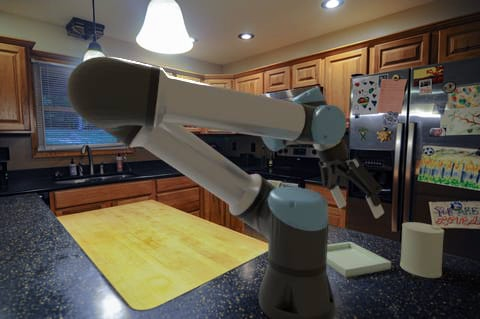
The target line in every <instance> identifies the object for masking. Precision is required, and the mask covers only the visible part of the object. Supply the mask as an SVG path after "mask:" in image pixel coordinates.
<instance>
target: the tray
mask: <svg viewBox="0 0 480 319" xmlns="http://www.w3.org/2000/svg"><path fill="white" fill-rule="evenodd" d="M326 266H328V267H329V268H331V269H333V270H334V271H335V273H336V272H337V273H338V274H340V276H342V277H344V278H351V277H355V276H361V275H367V274H372V273H377V272H382V271H387V270H391V269H392V261H390V260H388V259H387V258H384V257H382V256H380V255H378V254H376V253H374V252H372V251H371V250H368V249H367V248H364V247H362V246H360V245H358V244H356V243H354V242H352V241H346V242H338V243H329V244H327V263H326Z"/></svg>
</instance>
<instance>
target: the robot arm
mask: <svg viewBox="0 0 480 319" xmlns="http://www.w3.org/2000/svg"><path fill="white" fill-rule="evenodd" d="M67 80H68V81H67V85H66V92H67V97H68V100H69V101H68V102H69V103H70V105H71V107H72V108H73V111H74V112H76V114H77V115H78V117H80V118H82V120H84V121H85V122H87V123H89V124H90V125H92V126H95V127H97V128H99V129H101V130H102V131H104V132H106V133H107V134H109V135H110V136H112V137H113V138H115V139H116V140H118V141H119V142H121V143H122V144H124V145H125V146H128V147H129V148H138V147H139V148H140V147H141V148H144V149H145V150H147V151H148V152H150V153H151V154H153V155H155V157H157V158H159V159H160V160H162V162H165V163H166V164H168V165H169V166H170V167H172V168H174V169H176V170H177V171H178V172H179V173H181V174H182V175H184V176H186V177H187V178H189V179H190V180H192V182H194V183H196V184H197V185H199V186H200V187H202V188H203V189H205V190H206V191H208V192H210V194H213V195H214V196H215V197H217V198H218V199H220V200H221V201H223V202H225V204H228V209H229V212H230V214H231V215H232V216H234V217H235V218H237V219H239V220H240V221H241V222H243V223H244V224H246V225H247V226H249V227H251V228H252V229H254V230H255V231H257V232H258V233H259V234H260V235H262V236H263V237H264V238H265V239H267V240H268V246H267V248H268V249H267V250H268V251H267V267H266V269H265V272H264V275H263V278H262V280H261V284H260V285H259V289H258V290H259V291H258V304H259V307H260V309H261V311H262V312H263V313H264V314H265V315H266V317H268V318H269V319H333V318H334V317H335V308H336V307H335V304H336V302H335V296H334V294H333V288H332V286H331V283H330V280H329V277H328V276H329V275H328V273H327V265H326V263H327V245H328V240H329V238H328V237H329V223H330V222H329V220H330V216H329V205H328V201H327V199H326V198H325V196H324V195H323V194H321V193H319V192H317V191H315V190H312V189H309V188H302V187H300V186H279V187H276V186H275V185H274V184H272V183H270V182H269V181H268V180H267V179H266V178H264V177H263V176H261V175H260V174H258V173H254V174H253V173H252V174H248V173H247V172H245V170H242V169H241V168H240V167H239V166H238V165H236V164H235V163H233V162H232V161H231V160H229V159H228V158H227V157H225V156H224V155H222V154H221V153H220V152H218V151H217V150H216V149H214V148H213V147H212V146H211V145H209V144H208V143H206V142H205V141H204V140H202V139H201V138H199V137H198V136H197V135H196V134H194V133H193V132H191V130H188V128H186V127H184V126H188V127H193V128H202V129H206V130H207V129H208V130H216V131H222V132H229V133H237V134H241V135H242V134H243V135H249V136H256V137H261V139H262V141H263V143H264V144H265V146H266V147H267V148H268V149H269V150H271V151H273V152H278V151H280V150H282V149H285V148H286V147H288V146H289V145H312V147H313V148H314V150H316V154H317V156H318V158H319V161H318V166H319V169H320V175H321V184H322V187H323V188H327V190H329V191H330V194H331V195H332V197H333V199H334V202H335V203H336V205H337V206H336V207H338V209H342V208H344V207H345V206H346V205H347V202H346V199H345V197H344V195H343V193H342V191H341V188H340V186H339V185H338V183H337V181H338V176H341V177H344V178H345V179H349V181H351V182H352V183H353V184H354V185H355V186H357V187H358V188H359V189H360V190H361V191H362V192H363V193H364V194H366V196H365V199H366V201H367V204H368V206H369V207H370V208H369V209H370V210H371V212H372V214H373V215H372V216H374V217H373V218H374V219H379V218H380V217H381V216H382V215H383V214H385V211H384V209H383V207H382V201H381V199H380V197H379V195H378V194H379V193H380V192H382V191H383V187H382V185H380V184H379V182H378V181H377V180H376V179H375V178H374V177H373V175H371V173H370V172H369V171H368V170H367V169H366V168H365V166H364V165H363V164H362V162H361V161H360V160H361V159H360V158H359V157H355V158H353V159H350V158H348V152H349V149H348V147H347V145H346V143H345V140H344V139H342V138H343V137H344V135H345V133H346V131H347V130H346V129H347V118H346V115H345V113H344V111H343V110H342V109H341V108H340V107H338V106H337V105H334V104H328V103H327V100H326V98H325V97H324V95H323V93H322V91H321V90H320V88H318V87H313V88H310V89H309V90H307V91H304V92H302V93H301V94H299V95H297V96H295V97H294V98H292V101H288V100H284V99H279V98H274V97H270V96H263V95H260V94H257V93H256V94H254V93H251V92H246V91H241V90H238V89H237V90H236V89H231V88H227V87H222V86H217V85H212V84H208V83H204V82H197V81H194V80H190V79H185V78H184V79H183V78H181V77H175V76H170V75H169V74H168V73H167V72H166V71H165V69H163V67H160V66H156V65H150V64H145V63H141V62H138V61H134V60H133V61H132V60H128V59H124V58H119V57H113V56H95V57H90V58H88V59H85V60H83V61H82V62H80V63H79V64H77V65H76V66H75V68H74V69H73V70H72V71H71V73H70V74H69V77H68V79H67Z"/></svg>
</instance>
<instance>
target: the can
mask: <svg viewBox="0 0 480 319" xmlns="http://www.w3.org/2000/svg"><path fill="white" fill-rule="evenodd" d="M401 226H402V228H401V229H402V230H401V250H400V263H399V266H400V267H401V269H402V270H404V271H406V272H407V273H409V274H411V275H414V276H417V277H422V278H427V279H438V278H441V277H442V275H443V270H442V264H443V249H444V235H445V230H444V229H443V228H442V227H439V226H436V225H433V224H429V223H428V224H427V223H424V222H415V221H413V222H412V221H410V222H408V221H407V222H403V223H402V224H401Z"/></svg>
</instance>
